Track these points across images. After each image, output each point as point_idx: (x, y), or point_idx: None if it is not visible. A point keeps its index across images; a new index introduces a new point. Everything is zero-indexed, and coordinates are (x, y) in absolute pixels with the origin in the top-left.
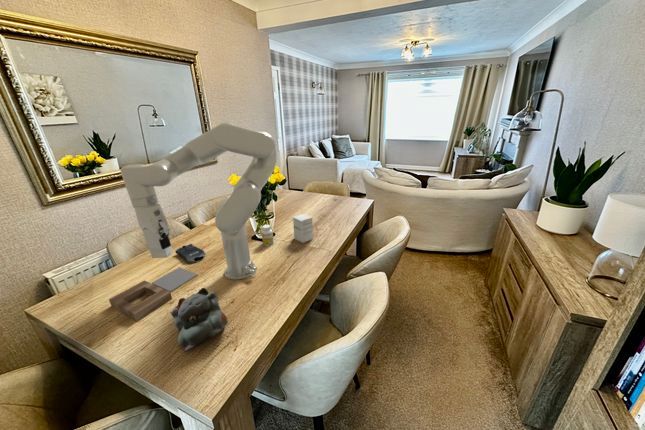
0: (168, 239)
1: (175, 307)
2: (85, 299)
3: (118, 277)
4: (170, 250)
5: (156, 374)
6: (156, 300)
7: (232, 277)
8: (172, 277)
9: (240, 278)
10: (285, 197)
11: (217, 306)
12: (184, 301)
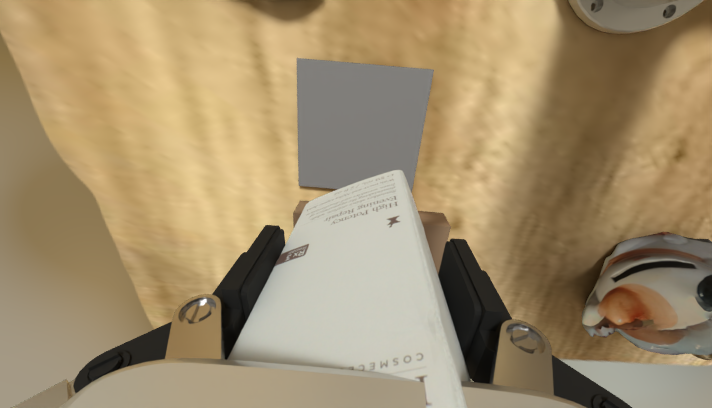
0: (486, 288)
1: (601, 327)
2: (206, 288)
3: (151, 199)
4: (413, 201)
5: (578, 352)
6: (439, 265)
7: (647, 28)
8: (343, 133)
9: (686, 10)
10: None
11: None
12: (673, 346)
